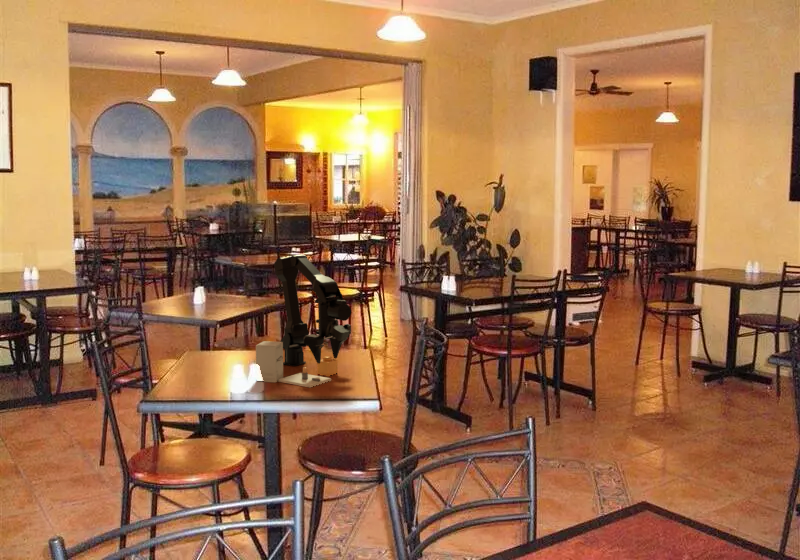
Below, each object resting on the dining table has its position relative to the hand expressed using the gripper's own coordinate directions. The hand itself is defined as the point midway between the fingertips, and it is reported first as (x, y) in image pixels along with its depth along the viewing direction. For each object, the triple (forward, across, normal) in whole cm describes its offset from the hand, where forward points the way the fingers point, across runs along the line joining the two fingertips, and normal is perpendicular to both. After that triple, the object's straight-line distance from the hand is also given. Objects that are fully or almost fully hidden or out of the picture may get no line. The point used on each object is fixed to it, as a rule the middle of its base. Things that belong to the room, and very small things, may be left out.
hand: (327, 360), depth 288 cm
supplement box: (+5, -17, +11) cm, 21 cm away
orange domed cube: (+5, 0, 0) cm, 5 cm away
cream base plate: (+5, -12, 0) cm, 13 cm away
